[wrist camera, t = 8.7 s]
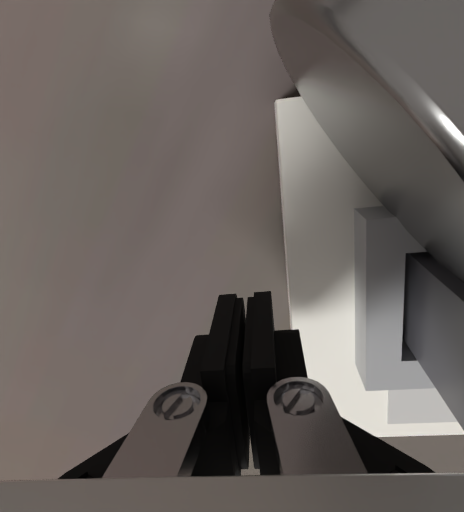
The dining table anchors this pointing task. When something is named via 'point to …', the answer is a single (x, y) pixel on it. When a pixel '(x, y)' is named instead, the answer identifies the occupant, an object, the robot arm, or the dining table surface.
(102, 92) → the dining table surface
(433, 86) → the muzzle brake
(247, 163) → the dining table surface
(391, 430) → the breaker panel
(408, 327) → the breaker lever
